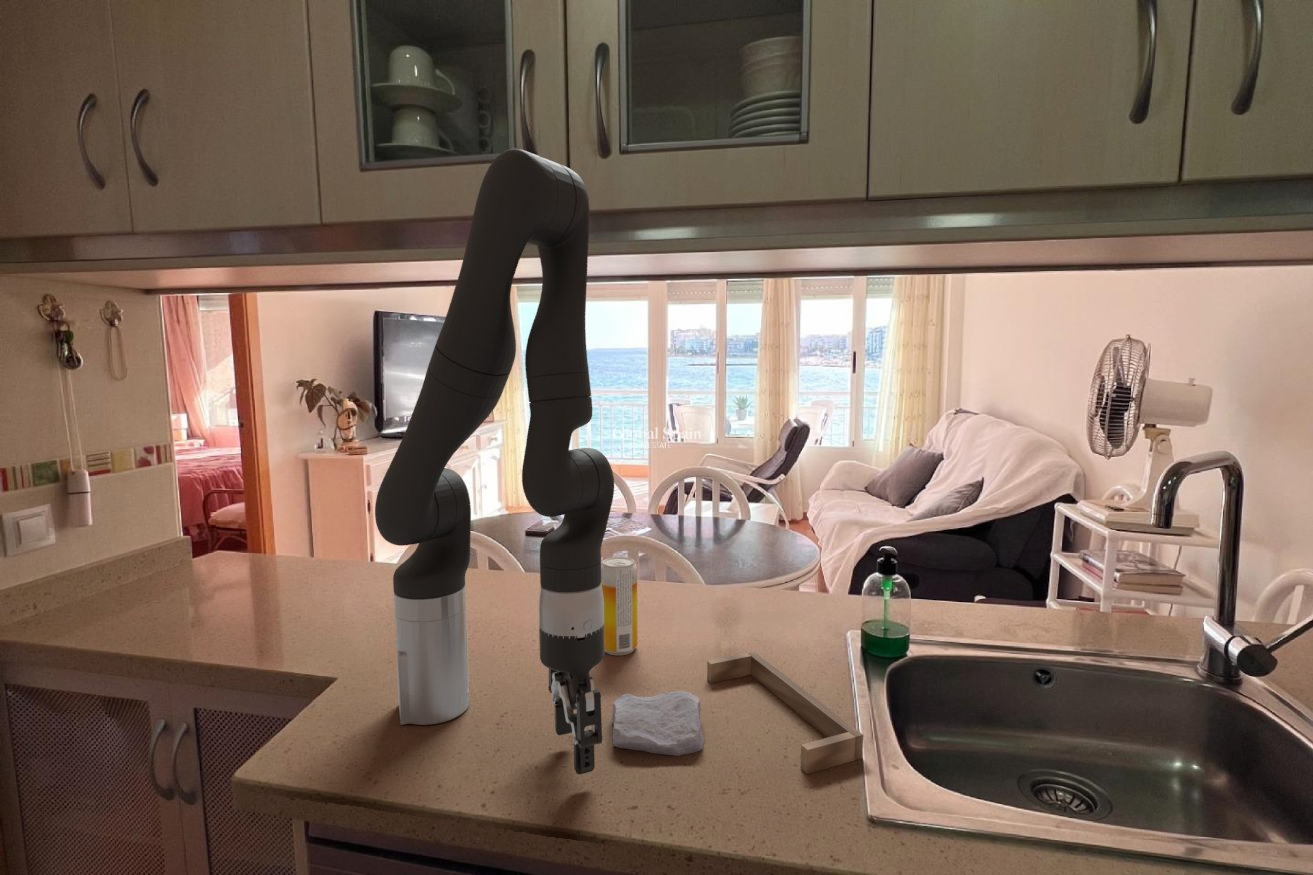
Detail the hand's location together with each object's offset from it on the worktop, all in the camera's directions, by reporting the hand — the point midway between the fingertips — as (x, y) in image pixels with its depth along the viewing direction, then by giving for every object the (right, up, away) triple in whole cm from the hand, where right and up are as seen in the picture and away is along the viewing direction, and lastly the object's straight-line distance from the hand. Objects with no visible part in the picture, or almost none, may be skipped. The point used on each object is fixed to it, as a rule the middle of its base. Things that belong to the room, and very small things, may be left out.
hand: (574, 751), depth 80 cm
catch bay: (+26, 0, +11) cm, 28 cm away
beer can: (+4, +2, +32) cm, 32 cm away
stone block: (+10, -1, +6) cm, 12 cm away
